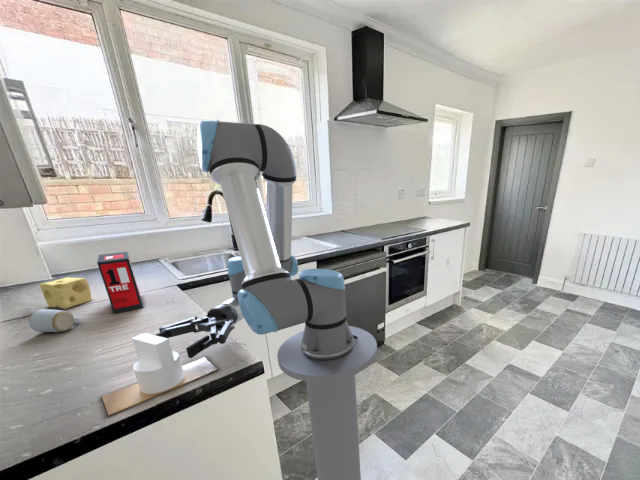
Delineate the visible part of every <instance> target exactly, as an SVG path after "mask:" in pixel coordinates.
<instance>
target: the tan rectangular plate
mask: <svg viewBox="0 0 640 480" xmlns="http://www.w3.org/2000/svg"><path fill="white" fill-rule="evenodd" d="M182 368H183V372H184V379H183V380H182V381H181V382H180V383H179V384H178V385H176V386H175V387H173V388H171V389H168V390H166V391H163V392H159V393H154V394H146V393H143V392H141V390H140V387H139V384H138V382H136V383H133V384H131V385H129V386H125V387H124V388H120V389H118V390H116V391H113V392H111V393H108V394H105V395H103V396H101V398H102V401H103V404H104V407H105V409H106V412H107V415H108V417H110V416H113V415H115V414H118V413H120V412H122V411H124V410H127V409H130V408H132V407H135V406H137V405H138V404H141V403H143V402H146V401H148V400H152V399H153V398H156V397H158V396H160V395H163V394H165V393H168V392H169V391H172V390H175V389H177V388H179V387H182V386H184V385H187V384H189V383H191V382H194V381H196V380H198V379H200V378H203V377H205V376H208V375H210V374H213V373H214V372H217V371H218V368H217V367H216V366H215V365H214V364H212V362H210V360H208V359H207V358H206V357H205V356H204V357H201V358H198V359H196V360H194V361H191V362H188V363H186V364H183V365H182Z"/></svg>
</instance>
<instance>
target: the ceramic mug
mask: <svg viewBox="0 0 640 480" xmlns="http://www.w3.org/2000/svg"><path fill="white" fill-rule="evenodd" d="M28 323H29V326H30V328H31V329H32V330H33V331H34V332H37V333H62V332H66V331H68V330H70V329H71V328H72V327H73V326H74V324H80V318H75V317H74V315H73V314H72V313H71V312H69V311H67V310H64V309H48V308H41V309H37V310H35V311H34V312H32V313H31V315H30V316H29V320H28Z"/></svg>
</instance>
